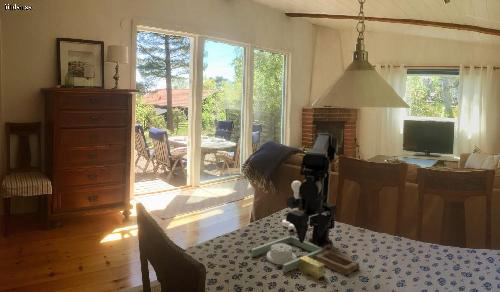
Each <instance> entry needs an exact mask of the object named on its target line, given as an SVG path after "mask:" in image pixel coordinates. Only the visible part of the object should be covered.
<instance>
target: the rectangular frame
mask: <svg viewBox="0 0 500 292" xmlns="http://www.w3.org/2000/svg"><path fill="white" fill-rule="evenodd" d="M315 260H316V261H319V262H321V263H323V264H325V267H328V268H329V269H332V270H334V271H335V272H338V273H341V274H342V275H346V276H347V275H349V274H351V273H353V272H355V271H356V270H358V269H359V268H360V262H358V261H356V260H353V259H350V258H348V257H345V256H343V255H341V254H339V253H336V252H333V251H330V250H329V249H327V250H326V251H325V252H323V253H321V254H319V255H316V256H315Z"/></svg>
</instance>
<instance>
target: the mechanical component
mask: <svg viewBox="0 0 500 292" xmlns="http://www.w3.org/2000/svg"><path fill="white" fill-rule="evenodd" d="M296 256H297V255H296V254H295V253H294V252H293V246H291V245H290V244H287V245H286V244H284V243H282V244H281V243H279V244H275V245H272V246H271V250H270V251H268V252H266V259H267V261H269V262H270V263H272V264H274V265H281V266H283V264H285V263H288V262H290V261H293V260H295V259H297V258H296Z"/></svg>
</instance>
